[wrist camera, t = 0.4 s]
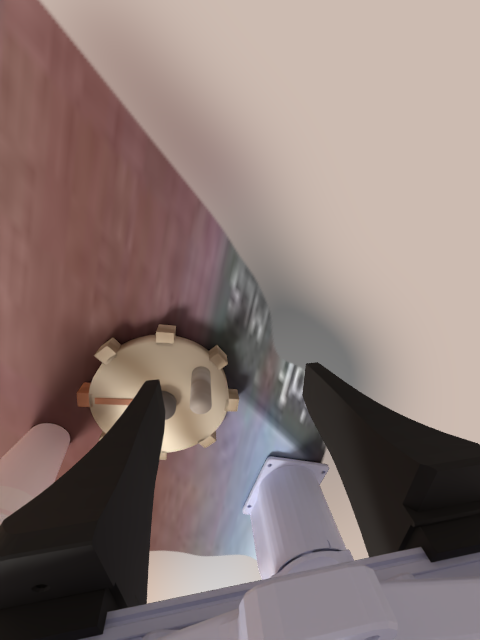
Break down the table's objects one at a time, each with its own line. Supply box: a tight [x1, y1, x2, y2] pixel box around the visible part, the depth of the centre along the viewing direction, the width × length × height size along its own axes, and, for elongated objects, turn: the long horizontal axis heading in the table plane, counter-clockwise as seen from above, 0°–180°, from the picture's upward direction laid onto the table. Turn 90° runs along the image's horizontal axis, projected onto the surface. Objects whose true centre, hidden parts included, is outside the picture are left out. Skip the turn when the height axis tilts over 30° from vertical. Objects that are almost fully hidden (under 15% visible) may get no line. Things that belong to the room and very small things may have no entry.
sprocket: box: [77, 324, 239, 460], centre depth 23 cm, size 14×14×6 cm
